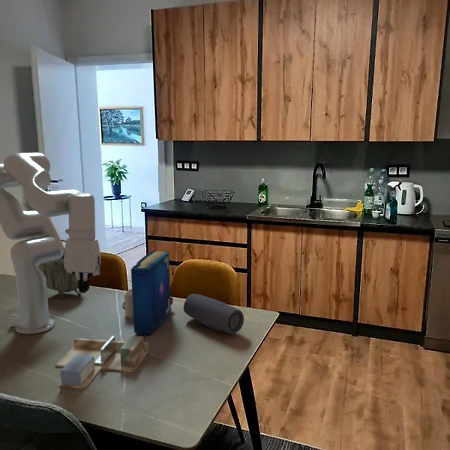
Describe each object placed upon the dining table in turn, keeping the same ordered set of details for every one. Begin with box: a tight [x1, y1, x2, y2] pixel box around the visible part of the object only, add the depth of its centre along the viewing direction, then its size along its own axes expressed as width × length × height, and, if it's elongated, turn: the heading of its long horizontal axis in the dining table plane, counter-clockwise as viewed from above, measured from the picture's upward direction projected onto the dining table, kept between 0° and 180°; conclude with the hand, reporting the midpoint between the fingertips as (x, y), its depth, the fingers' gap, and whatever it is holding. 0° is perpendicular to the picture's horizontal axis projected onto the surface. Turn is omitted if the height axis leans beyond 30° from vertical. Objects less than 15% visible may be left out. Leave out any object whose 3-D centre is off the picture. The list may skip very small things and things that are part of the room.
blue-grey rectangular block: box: [59, 355, 95, 386], centre depth 122 cm, size 6×9×4 cm, turn 172°
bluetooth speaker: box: [183, 293, 245, 335], centre depth 156 cm, size 23×9×10 cm, turn 45°
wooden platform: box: [55, 335, 150, 390], centre depth 128 cm, size 24×24×6 cm
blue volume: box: [130, 250, 172, 336], centre depth 156 cm, size 22×7×25 cm, turn 168°
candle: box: [123, 288, 134, 319], centre depth 166 cm, size 6×6×10 cm
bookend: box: [95, 335, 116, 365], centre depth 132 cm, size 3×9×5 cm, turn 172°
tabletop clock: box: [43, 239, 84, 299], centre depth 184 cm, size 14×9×25 cm, turn 66°
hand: (83, 291), depth 136 cm, fingers closed
